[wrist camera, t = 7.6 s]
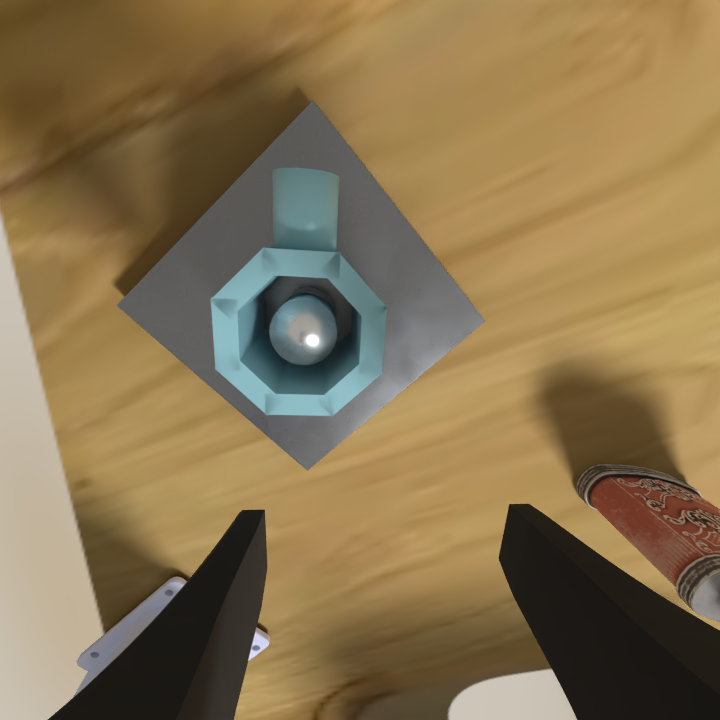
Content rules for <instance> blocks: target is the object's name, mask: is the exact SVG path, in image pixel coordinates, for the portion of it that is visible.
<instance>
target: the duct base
mask: <svg viewBox="0 0 720 720" xmlns="http://www.w3.org/2000/svg"><path fill="white" fill-rule="evenodd" d="M279 168H307V169H315V170H321V171H326V172H330V173H333V174H335V175H337V176H339V192H338V219H337V246H336V251H338V252H340V254H341V255H342V256H343V258H344V259H345V260H346V261H347V262H348V263H349V265H350V266H351V267H352V268H353V269H354V270H355V271H356V273H357V274H358V275H359V276H360V277H361V278H362V279H363V281H364V282H365V283H366V284H367V285H368V286H369V288H370V289H371V290H372V291H373V292H374V293H375V294H376V295H377V296H378V297H379V298H380V299H381V301H382V302H383V303H384V304H385V305H386V306H387V308H388V309H387V314H386V326H385V338H384V350H383V363H382V375H380V376H379V377H378V378H376V379H375V380H374V381H373V382H372V383H371V384H369V385H368V386H367V387H366V388H365V389H363V390H362V391H361V392H360V393H359V394H358V395H356V396H355V397H354V398H353V399H352V400H351V401H349V402H348V403H347V404H346V405H345V406H344V407H342V408H341V409H340V410H339V411H338V412H337V413H335V414H334V416H310V415H265V413H264V412H263V411H262V410H261V409H260V408H258V407H257V406H256V405H255V404H254V403H253V402H252V401H251V400H249V399H248V398H247V397H246V396H245V395H244V394H243V393H242V392H240V391H239V390H238V389H237V388H236V387H235V386H234V385H233V384H231V383H230V382H229V381H228V380H227V379H226V378H225V377H224V376H222V375H221V374H220V373H219V372H218V371H217V370H215V356H214V341H213V325H212V310H211V301H210V300H211V298H212V297H214V296H215V295H216V294H217V293H218V292H219V291H220V290H221V289H222V288H223V287H224V286H225V285H226V284H227V283H228V282H229V281H230V280H231V279H232V278H233V277H234V276H235V275H236V274H237V273H238V272H239V271H240V270H241V269H242V268H243V267H244V266H245V265H246V264H247V263H248V262H249V261H250V260H251V259H252V258H253V257H254V256H255V255H256V254H257V253H258V252H259V251H260V250H261V249H262V248H263V247H273V170H275V169H279ZM117 306H118V307H119V308H120V309H121V310H123V311H124V312H125V313H126V314H127V315H128V316H130V317H131V318H132V319H133V320H134V321H135V322H136V323H138V324H139V325H140V326H141V327H142V328H143V329H145V330H146V331H147V332H148V333H149V334H150V335H151V336H153V337H154V338H155V339H156V340H157V341H158V342H160V343H161V344H162V345H163V346H164V347H165V348H166V349H168V350H169V351H170V352H171V353H172V354H173V355H175V356H176V357H177V358H178V359H179V360H180V361H181V362H183V363H184V364H185V365H186V366H187V367H188V368H190V369H191V370H192V371H193V372H194V373H195V374H196V375H198V376H199V377H200V378H201V379H202V380H203V381H205V382H206V383H207V384H208V385H209V386H210V387H211V388H213V389H214V390H215V391H216V392H217V393H218V394H220V395H221V396H222V397H223V398H224V399H225V400H226V401H228V402H229V403H230V404H231V405H232V406H233V407H235V408H236V409H237V410H238V411H239V412H240V413H241V414H243V415H244V416H245V417H246V418H247V419H248V420H250V421H251V422H252V423H253V424H254V425H255V426H256V427H258V428H259V429H260V430H261V431H262V432H263V433H265V434H266V435H267V436H268V437H269V438H270V439H271V440H273V441H274V442H275V443H276V444H277V445H278V446H280V447H281V448H282V449H283V450H284V451H285V452H286V453H288V454H289V455H290V456H291V457H292V458H293V459H295V460H296V461H297V462H298V463H299V464H300V465H301V466H303V467H304V468H305V469H306V470H309V469H310V468H311V467H312V466H313V465H315V464H316V463H317V462H318V461H319V460H321V459H322V458H323V457H324V456H325V455H326V454H328V453H329V452H330V451H331V450H332V449H334V448H335V447H336V446H337V445H338V444H340V443H341V442H342V441H343V440H344V439H346V438H347V437H348V436H349V435H350V434H351V433H353V432H354V431H355V430H356V429H357V428H359V427H360V426H361V425H362V424H363V423H365V422H366V421H367V420H368V419H369V418H371V417H372V416H373V415H374V414H375V413H377V412H378V411H379V410H380V409H381V408H382V407H384V406H385V405H386V404H387V403H388V402H390V401H391V400H392V399H393V398H394V397H396V396H397V395H398V394H399V393H400V392H402V391H403V390H404V389H405V388H406V387H407V386H409V385H410V384H411V383H412V382H413V381H415V380H416V379H417V378H418V377H419V376H421V375H422V374H423V373H424V372H425V371H427V370H428V369H429V368H430V367H431V366H433V365H434V364H435V363H436V362H437V361H438V360H440V359H441V358H442V357H443V356H444V355H446V354H447V353H448V352H449V351H450V350H452V349H453V348H454V347H455V346H456V345H458V344H459V343H460V342H461V341H462V340H463V339H465V338H466V337H467V336H468V335H469V334H471V333H472V332H473V331H474V330H475V329H477V328H478V327H479V326H480V325H481V324H483V323H484V322H485V320H484V319H483V318H482V316H481V315H480V314H479V312H478V311H477V310H476V309H475V307H474V306H473V305H472V303H471V302H470V301H469V300H468V298H467V297H466V296H465V294H464V293H463V292H462V291H461V289H460V288H459V287H458V285H457V284H456V283H455V282H454V280H453V279H452V278H451V276H450V275H449V274H448V273H447V271H446V270H445V269H444V267H443V266H442V265H441V264H440V262H439V261H438V260H437V259H436V257H435V256H434V255H433V253H432V252H431V251H430V250H429V248H428V247H427V246H426V244H425V243H424V242H423V241H422V239H421V238H420V237H419V235H418V234H417V233H416V232H415V230H414V229H413V228H412V226H411V225H410V224H409V223H408V221H407V220H406V219H405V217H404V216H403V215H402V214H401V212H400V211H399V210H398V208H397V207H396V206H395V205H394V203H393V202H392V201H391V200H390V198H389V197H388V196H387V194H386V193H385V192H384V191H383V189H382V188H381V187H380V185H379V184H378V183H377V182H376V180H375V179H374V178H373V176H372V175H371V174H370V173H369V171H368V170H367V169H366V167H365V166H364V165H363V164H362V162H361V161H360V160H359V158H358V157H357V156H356V155H355V153H354V152H353V151H352V149H351V148H350V147H349V146H348V144H347V143H346V142H345V141H344V139H343V138H342V137H341V135H340V134H339V133H338V132H337V130H336V129H335V128H334V126H333V125H332V124H331V123H330V121H329V120H328V119H327V117H326V116H325V115H324V114H323V112H322V111H321V110H320V108H319V107H318V106H317V105H316V103H315V102H314V101H312V102H311V103H310V104H309V105H308V106H307V107H306V108H305V109H304V110H303V111H302V112H301V113H300V114H299V115H298V116H297V117H296V118H295V120H294V121H293V122H292V123H291V124H290V125H289V126H288V127H287V128H286V129H285V130H284V131H283V132H282V133H281V134H280V135H279V136H278V137H277V138H276V139H275V140H274V141H273V143H272V144H271V145H270V146H269V147H268V148H267V149H266V150H265V151H264V152H263V153H262V154H261V155H260V156H259V157H258V158H257V159H256V160H255V161H254V162H253V163H252V164H251V166H250V167H249V168H248V169H247V170H246V171H245V172H244V173H243V174H242V175H241V176H240V177H239V178H238V179H237V180H236V181H235V182H234V183H233V184H232V185H231V186H230V187H229V189H228V190H227V191H226V192H225V193H224V194H223V195H222V196H221V197H220V198H219V199H218V200H217V201H216V202H215V203H214V204H213V205H212V206H211V207H210V208H209V209H208V210H207V212H206V213H205V214H204V215H203V216H202V217H201V218H200V219H199V220H198V221H197V222H196V223H195V224H194V225H193V226H192V227H191V228H190V229H189V230H188V231H187V232H186V233H185V235H184V236H183V237H182V238H181V239H180V240H179V241H178V242H177V243H176V244H175V245H174V246H173V247H172V248H171V249H170V250H169V251H168V252H167V253H166V254H165V255H164V256H163V258H162V259H161V260H160V261H159V262H158V263H157V264H156V265H155V266H154V267H153V268H152V269H151V270H150V271H149V272H148V273H147V274H146V275H145V276H144V277H143V278H142V279H141V281H140V282H139V283H138V284H137V285H136V286H135V287H134V288H133V289H132V290H131V291H130V292H129V293H128V294H127V295H126V296H125V297H124V298H123V299H122V300H121V301H120V302H119V304H118V305H117ZM352 307H353V306H352V305H351V304H350V303H349V301H348V300H347V299H346V298H345V297H344V296H343V295H342V294H341V293H340V291H339V290H338V289H337V288H336V287H335V286H334V285H333V284H332V283H331V282H330V280H329V279H328V278H313V277H294V276H281V277H280V278H279V279H278V280H277V281H276V282H275V283H274V284H273V285H272V286H271V287H270V288H269V289H268V290H267V291H266V292H265V321H266V329H267V330H268V331H269V333H270V340H271V343H272V345H273V347H274V349H275V350H276V352H277V353H278V354H279V355H280V356H281V357H282V358H283V359H285V360H286V361H288V362H290V363H293V364H297V365H312V364H315V363H318V362H320V361H322V360H323V359H325V358H326V357H327V356H328V355H329V354H330V353H331V351H332V350H333V348H334V346H335V345H337V344H338V343H339V342H340V341H341V340H342V339H343V338H344V337H346V336H347V335H348V334H349V333H350V332H351V326H352Z"/></svg>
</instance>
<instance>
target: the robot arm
mask: <svg viewBox="0 0 720 720" xmlns="http://www.w3.org/2000/svg"><path fill="white" fill-rule="evenodd" d="M499 561H500V563H501V566H502V569H503V571H504V574H505V576H506V579H507V581H508V584H509V586H510V589H511V591H512V594H513V596H514V598H515V600H516V602H517V604H518V606H519V608H520V610H521V611H522V613H523V615H524V617H525V619H526V621H527V623H528V625H529V627H530V629H531V630H532V632H533V634H534V636H535V638H536V640H537V642H538V643H539V645H540V647H541V649H542V651H543V653H544V655H545V657H546V658H547V660H548V662H549V664H550V666H551V668H552V670H553V671H554V673H555V675H556V677H557V679H558V681H559V683H560V685H561V687H562V689H563V691H564V693H565V695H566V697H567V698H568V701H569V703H570V705H571V707H572V709H573V711H574V713H575V715H576V718H577V720H720V630H718V629H716V628H714V627H712V626H711V625H709V624H707V623H705V622H704V621H702V620H700V619H699V618H697V617H695V616H694V615H692V614H690V613H689V612H687V611H685V610H684V609H682V608H680V607H678V606H677V605H675V604H673V603H672V602H670V601H669V600H667V599H665V598H664V597H662V596H661V595H659V594H657V593H656V592H654V591H653V590H651V589H650V588H648V587H647V586H645V585H644V584H642V583H641V582H639V581H637V580H636V579H634V578H633V577H631V576H630V575H628V574H627V573H625V572H624V571H622V570H621V569H620V568H618V567H617V566H615V565H614V564H612V563H611V562H609V561H608V560H607V559H605V558H604V557H602V556H601V555H600V554H598V553H597V552H595V551H594V550H593V549H591V548H590V547H588V546H587V545H586V544H584V543H583V542H581V541H580V540H579V539H577V538H576V537H575V536H573V535H572V534H571V533H569V532H568V531H566V530H565V529H564V528H562V527H561V526H560V525H558V524H557V523H556V522H554V521H553V520H551V519H550V518H549V517H547V516H546V515H544V514H543V513H542V512H540V511H539V510H537V509H536V508H534V507H533V506H531V505H530V504H509V509H508V514H507V519H506V524H505V529H504V534H503V539H502V544H501V549H500V554H499ZM266 572H267V550H266V528H265V510H242V511H241V512H240V513H239V514H238V515H237V517H236V518H235V520H234V521H233V523H232V524H231V526H230V527H229V528H228V530H227V531H226V533H225V534H224V535H223V537H222V538H221V539H220V541H219V542H218V543H217V545H216V546H215V547H214V549H213V550H212V551H211V553H210V554H209V555H208V556H207V558H206V559H205V560H204V562H203V563H202V564H201V565H200V567H199V568H198V569H197V570H196V572H195V573H194V574H193V575H192V577H191V578H190V579H189V580H188V581H186V580H184V579H183V578H181V577H173V578H171V579H169V580H168V581H167V582H166V583H165V584H164V585H162V586H161V587H160V588H159V589H158V590H156V591H155V592H154V593H153V594H152V595H150V596H149V597H148V598H147V599H146V600H145V601H143V602H142V603H141V604H140V605H139V606H137V607H136V608H135V609H134V610H133V611H132V612H130V613H129V614H128V615H127V616H126V617H124V618H123V619H122V620H121V621H120V622H118V623H117V624H116V625H115V626H114V627H113V628H111V629H110V630H109V631H108V632H107V633H105V634H104V635H103V636H102V637H101V638H100V639H98V640H97V641H96V642H95V643H94V644H92V645H91V646H90V647H89V648H88V649H87V650H85V651H84V652H83V653H82V654H81V655H80V657H79V658H78V660H77V664H78V666H79V667H81V668H83V669H85V670H87V671H88V673H87V674H86V676H85V678H84V680H83V681H82V683H81V685H80V687H79V688H78V690H77V692H76V694H75V695H74V697H73V698H72V699H71V700H70V701H69V702H68V703H67V704H66V705H64V706H63V707H62V708H61V709H60V710H59V711H57V712H56V713H55V714H54V715H53V716H51V717H50V718H49V719H48V720H234V716H235V712H236V707H237V703H238V699H239V695H240V691H241V687H242V683H243V679H244V675H245V671H246V667H247V663H248V661H249V660H250V659H252V658H253V657H254V656H256V655H257V654H258V653H259V652H261V651H262V650H263V649H265V648H266V647H267V646H268V645H269V641H270V637H269V635H268V634H266V633H265V632H263V631H262V630H260V629H259V628H257V623H258V619H259V615H260V610H261V606H262V600H263V593H264V586H265V579H266Z"/></svg>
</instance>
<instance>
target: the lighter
mask: <svg viewBox="0 0 720 720" xmlns="http://www.w3.org/2000/svg"><path fill="white" fill-rule="evenodd" d="M576 486H577V493H578V495H579V497H580V498H581V499H582V500H583V501H584V502H585V503H586V504H587V505H588V506H590V507H591V508H592V509H595V510H597V511H599V512H600V513H601V514H602V515H603V516H604V517H605V518H606V519H607V520H608V521H609V522H610V523H611V524H612V525H613V526H614V527H615V528H616V529H617V530H618V531H619V532H620V533H621V534H622V535H623V536H624V537H625V538H626V539H627V540H628V541H629V542H630V543H632V544H633V545H634V546H635V547H636V548H637V549H638V550H639V551H640V552H641V553H642V554H643V555H644V556H645V557H646V558H647V559H648V560H649V561H650V562H651V563H652V564H653V565H654V566H655V567H656V568H657V569H658V570H659V571H660V572H661V573H662V574H663V575H664V576H665V577H666V578H667V579H668V580H669V581H670V582H671V583H672V584H673V585H674V586H675V587H676V592H677V594H678V596H679V597H680V598H681V599H682V600H683V601H684V602H685V603H686V604H687V605H688V606H689V607H690V608H691V609H692V610H693V611H694V612H695V613H697V614H698V615H700V616H703V617H706V618H709V619H711V620H714V621H717V622H720V509H718V508H717V507H715V506H714V505H712V504H711V503H709V502H708V501H706V500H705V499H703V498H702V495H701V493H700V492H699V491H697V490H696V489H694V488H693V487H691V486H690V485H688V484H687V483H685V482H683V481H681V480H679V479H677V478H675V477H673V476H670V475H668V474H666V473H662V472H659V471H655V470H652V469H649V468H644V467H637V466H630V465H613V464H599V465H594V466H592V467H590V468H588V469H587V470H586V471H585V472H584V473H583V474H582V475H581V477H580V478H579V480H578V483H577V485H576Z"/></svg>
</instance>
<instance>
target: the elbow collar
mask: <svg viewBox="0 0 720 720" xmlns="http://www.w3.org/2000/svg"><path fill="white" fill-rule="evenodd" d="M338 192H339V176H337V175H335V174H333V173H330V172H326V171H321V170H315V169H307V168H279V169H275V170H273V247H263V248H262V249H261V250H260V251H259V252H258V253H257V254H256V255H255V256H254V257H253V258H252V259H251V260H250V261H249V262H248V263H247V264H246V265H245V266H244V267H243V268H242V269H241V270H240V271H239V272H238V273H237V274H236V275H235V276H234V277H233V278H232V279H231V280H230V281H229V282H228V283H227V284H226V285H225V286H224V287H223V288H222V289H221V290H220V291H219V292H218V293H217V294H216V295H215V296H214V297H212V298H211V300H210V301H211V310H212V325H213V341H214V356H215V370H217V371H218V372H219V373H220V374H221V375H222V376H224V377H225V378H226V379H227V380H228V381H229V382H230V383H231V384H233V385H234V386H235V387H236V388H237V389H238V390H239V391H240V392H242V393H243V394H244V395H245V396H246V397H247V398H248V399H249V400H251V401H252V402H253V403H254V404H255V405H256V406H257V407H258V408H260V409H261V410H262V411H263V412H264V413H265V415H310V416H334V414H335V413H337V412H338V411H339V410H340V409H341V408H342V407H344V406H345V405H346V404H347V403H348V402H349V401H351V400H352V399H353V398H354V397H355V396H356V395H358V394H359V393H360V392H361V391H362V390H363V389H365V388H366V387H367V386H368V385H369V384H371V383H372V382H373V381H374V380H375V379H376V378H378V377H379V376H380V375H382V363H383V350H384V338H385V326H386V314H387V309H388V308H387V306H386V305H385V304H384V303H383V302H382V301H381V299H380V298H379V297H378V296H377V295H376V294H375V293H374V292H373V291H372V290H371V289H370V288H369V286H368V285H367V284H366V283H365V282H364V281H363V279H362V278H361V277H360V276H359V275H358V274H357V273H356V271H355V270H354V269H353V268H352V267H351V266H350V265H349V263H348V262H347V261H346V260H345V259H344V258H343V256H342V255H341V254H340V252H338V251H336V246H337V219H338ZM281 276H294V277H313V278H328V279H329V280H330V282H331V283H332V284H333V285H334V286H335V287H336V288H337V289H338V290H339V291H340V293H341V294H342V295H343V296H344V297H345V298H346V299H347V300H348V301H349V303H350V304H351V305H352V306H353V307H352V326H351V332H350V333H349V334H348V335H347V336H346V337H344V338H343V339H342V340H341V341H340V342H339V343H338V344H337V345H335V346H334V348H333V350H332V351H331V353H330V354H329V355H328V356H327V357H326V358H325V359H323V360H322V361H320V362H318V363H315V364H312V365H297V364H293V363H290V362H288V361H286V360H285V359H283V358H282V357H281V356H280V355H279V354H278V353H277V352H276V350H275V349H274V347H273V345H272V343H271V340H270V333H269V331H268V330H267V329H266V321H265V292H266V291H267V290H268V289H269V288H270V287H271V286H272V285H273V284H274V283H275V282H276V281H277V280H278V279H279V278H280V277H281Z"/></svg>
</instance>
